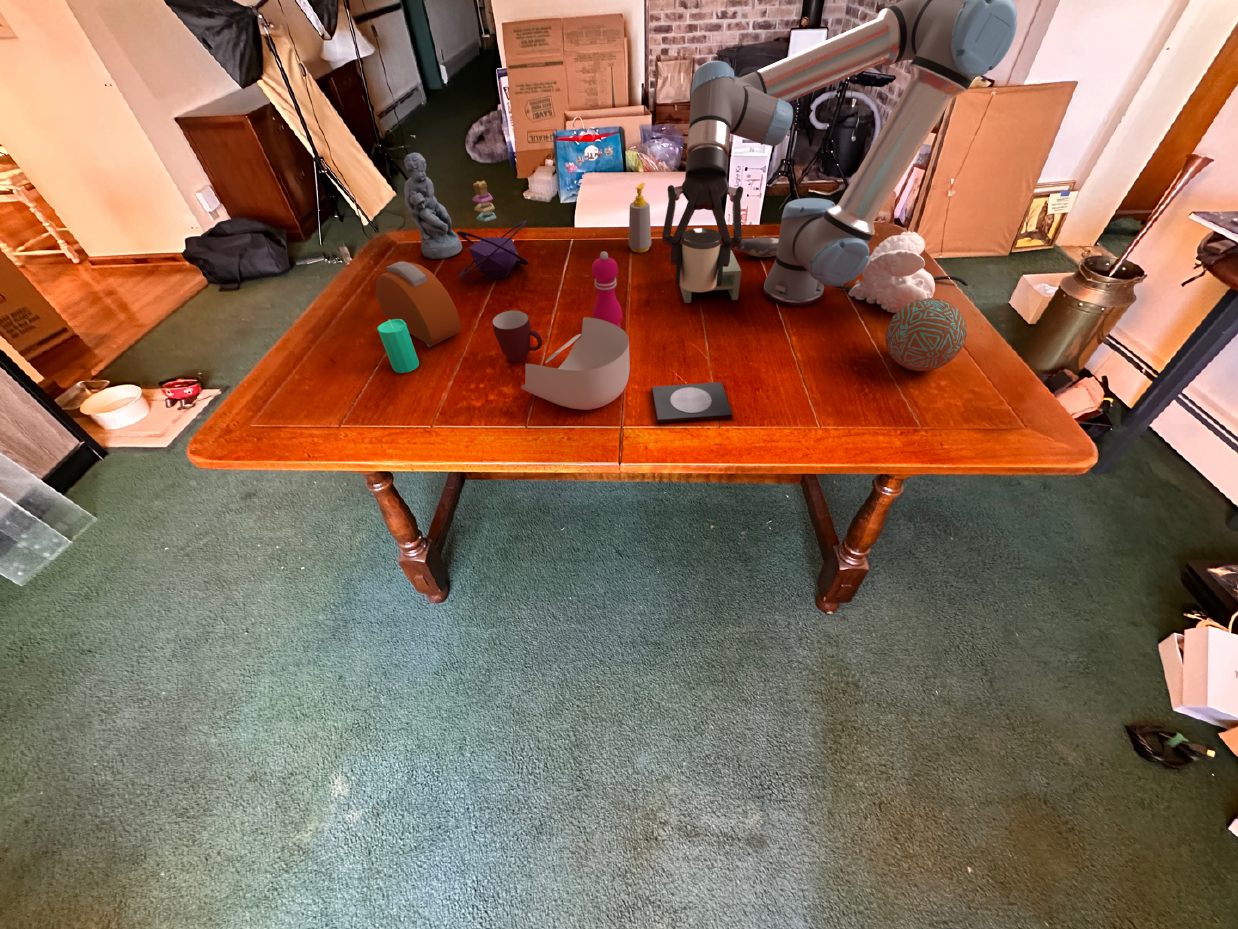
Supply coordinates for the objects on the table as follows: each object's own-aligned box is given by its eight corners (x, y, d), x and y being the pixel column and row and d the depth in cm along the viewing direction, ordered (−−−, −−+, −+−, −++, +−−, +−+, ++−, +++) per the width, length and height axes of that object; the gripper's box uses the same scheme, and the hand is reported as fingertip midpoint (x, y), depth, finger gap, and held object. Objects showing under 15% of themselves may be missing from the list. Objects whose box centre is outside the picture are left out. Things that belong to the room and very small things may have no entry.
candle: (395, 375, 126) (377, 329, 118) (390, 362, 130) (372, 316, 122) (421, 368, 128) (406, 321, 120) (415, 355, 132) (400, 309, 124)
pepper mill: (619, 340, 134) (616, 259, 119) (590, 338, 135) (583, 257, 121) (625, 324, 139) (623, 245, 124) (597, 322, 140) (591, 243, 126)
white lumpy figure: (963, 296, 125) (898, 237, 123) (889, 352, 139) (830, 301, 138) (964, 265, 137) (905, 211, 136) (896, 320, 152) (842, 272, 150)
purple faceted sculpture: (551, 268, 162) (539, 176, 145) (503, 299, 150) (484, 203, 132) (493, 253, 171) (475, 164, 154) (444, 281, 159) (418, 188, 141)
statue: (447, 273, 171) (454, 188, 150) (381, 239, 170) (379, 150, 150) (467, 256, 179) (477, 173, 158) (403, 223, 178) (405, 136, 158)
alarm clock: (466, 338, 137) (449, 273, 125) (435, 353, 132) (414, 288, 120) (414, 307, 148) (394, 246, 137) (384, 321, 144) (361, 258, 132)
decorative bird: (732, 250, 166) (734, 233, 163) (818, 253, 163) (822, 236, 159) (732, 259, 162) (733, 242, 158) (820, 263, 159) (824, 246, 155)
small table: (728, 278, 154) (731, 250, 148) (737, 299, 145) (741, 270, 140) (678, 281, 154) (679, 253, 148) (684, 303, 145) (686, 273, 140)
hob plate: (721, 386, 119) (721, 381, 118) (731, 419, 111) (732, 414, 111) (651, 391, 119) (651, 386, 118) (657, 424, 111) (657, 419, 110)
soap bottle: (654, 245, 171) (655, 183, 158) (646, 254, 166) (646, 191, 154) (634, 242, 173) (633, 180, 160) (625, 251, 169) (623, 188, 156)
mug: (548, 348, 132) (542, 310, 125) (542, 368, 126) (536, 329, 119) (504, 348, 133) (496, 310, 126) (497, 367, 127) (488, 329, 120)
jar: (713, 274, 107) (718, 227, 101) (719, 291, 102) (725, 242, 96) (677, 276, 107) (680, 228, 101) (681, 293, 102) (684, 244, 96)
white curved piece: (596, 431, 110) (592, 382, 102) (521, 401, 118) (511, 353, 110) (646, 378, 122) (646, 331, 114) (575, 354, 130) (570, 309, 121)
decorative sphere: (862, 356, 125) (881, 294, 115) (914, 339, 129) (937, 278, 119) (911, 392, 116) (938, 329, 105) (966, 373, 119) (997, 310, 109)
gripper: (760, 168, 103) (751, 291, 103) (654, 166, 106) (645, 287, 106) (766, 144, 96) (756, 277, 96) (652, 143, 98) (642, 273, 98)
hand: (698, 282), depth 101 cm, fingers closed on jar, 7 cm apart
